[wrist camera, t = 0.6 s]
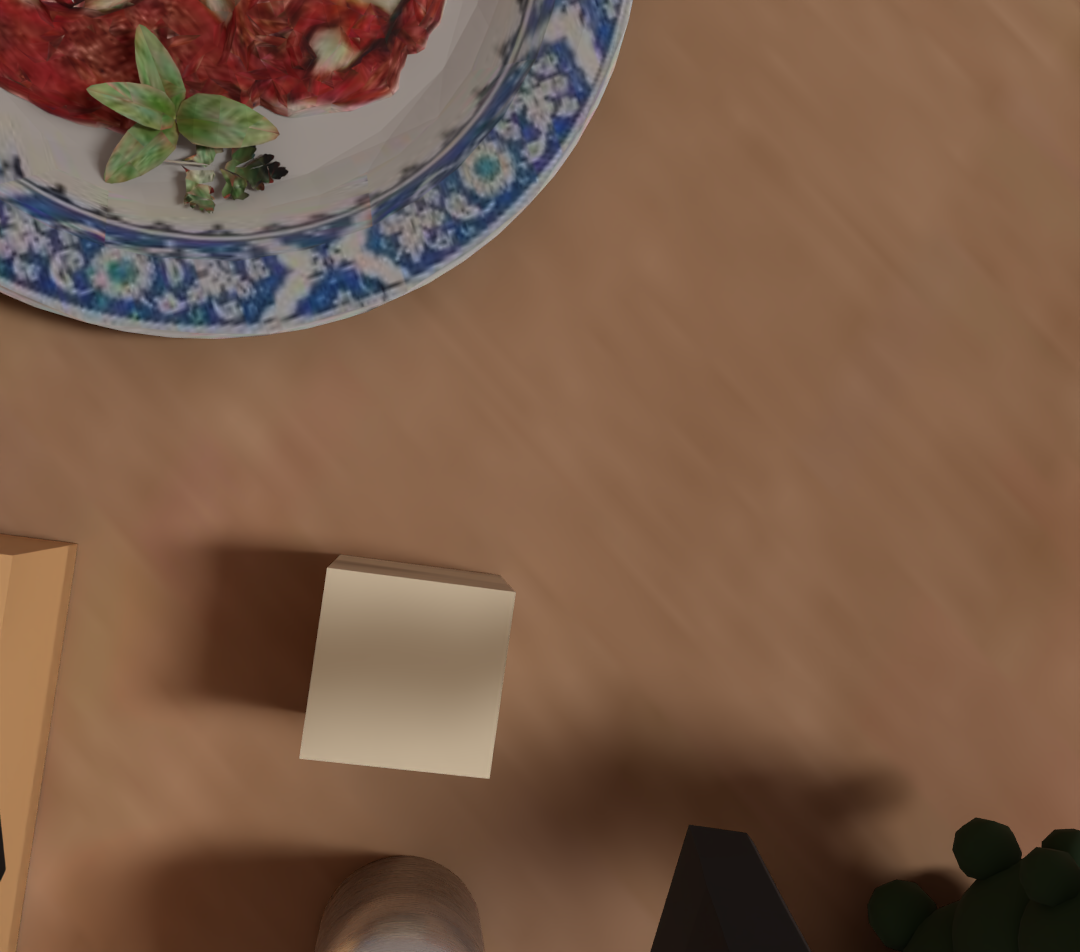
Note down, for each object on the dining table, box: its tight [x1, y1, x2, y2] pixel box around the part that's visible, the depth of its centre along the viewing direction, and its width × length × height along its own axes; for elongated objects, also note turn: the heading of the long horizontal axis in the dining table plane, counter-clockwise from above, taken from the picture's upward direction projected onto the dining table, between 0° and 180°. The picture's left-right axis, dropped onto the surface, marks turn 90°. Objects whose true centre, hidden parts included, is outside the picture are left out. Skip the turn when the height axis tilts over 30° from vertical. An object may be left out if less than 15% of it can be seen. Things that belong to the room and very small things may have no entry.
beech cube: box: [299, 554, 516, 779], centre depth 29 cm, size 5×5×5 cm
